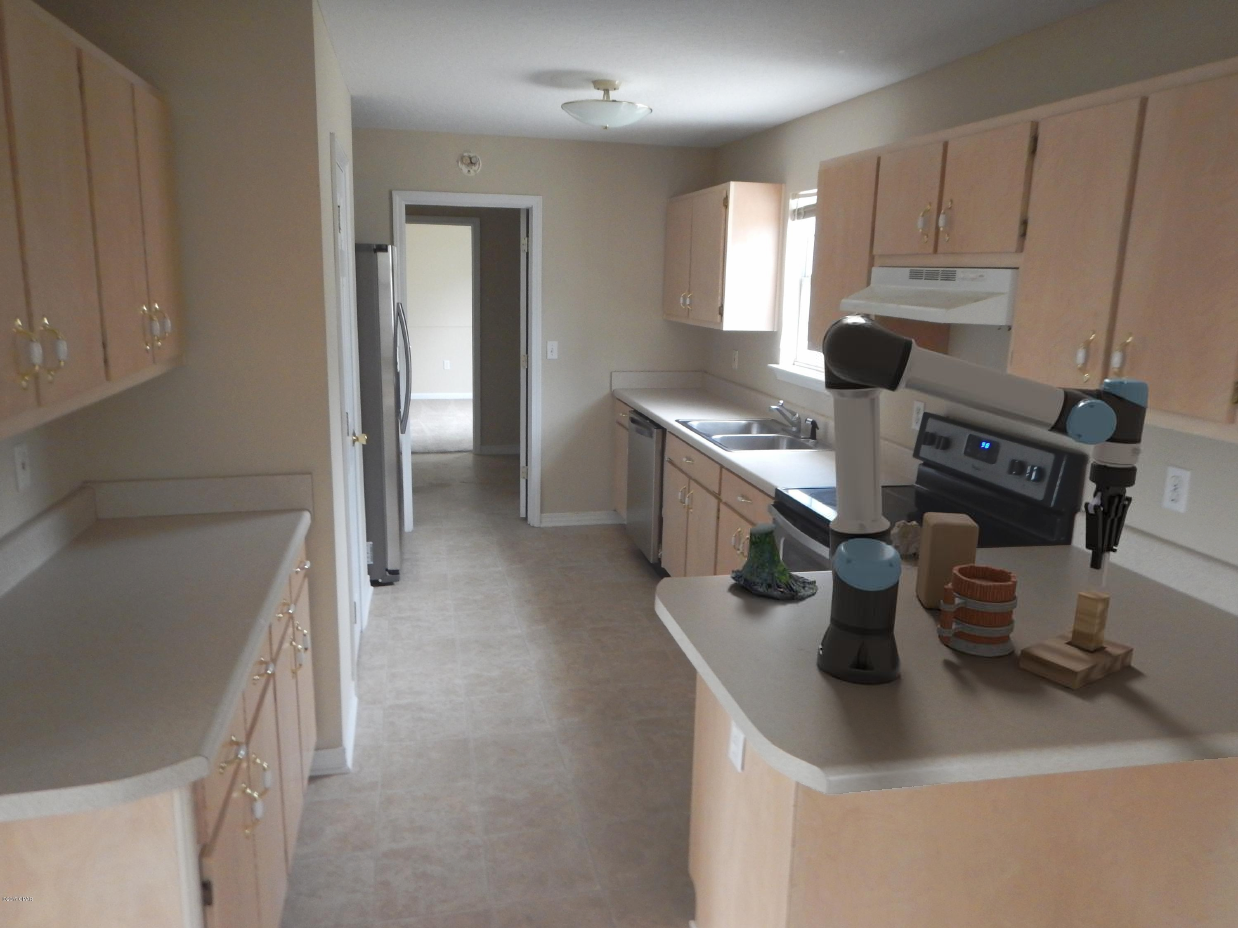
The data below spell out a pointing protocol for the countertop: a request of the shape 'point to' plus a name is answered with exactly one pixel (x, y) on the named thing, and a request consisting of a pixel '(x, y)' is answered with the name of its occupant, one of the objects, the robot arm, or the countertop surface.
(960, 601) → the mug
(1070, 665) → the board
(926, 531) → the wooden block
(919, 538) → the rock
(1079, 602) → the peg
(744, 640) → the countertop surface
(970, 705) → the countertop surface
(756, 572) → the tree stump
